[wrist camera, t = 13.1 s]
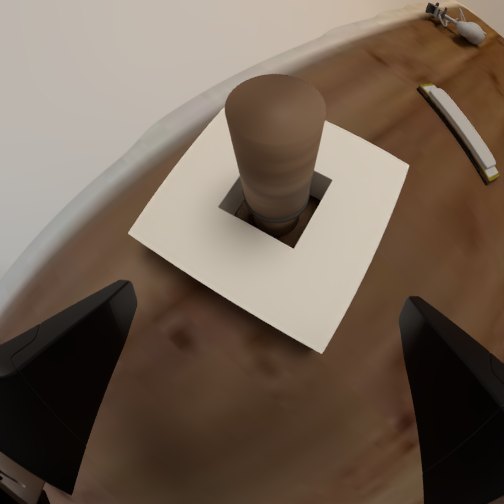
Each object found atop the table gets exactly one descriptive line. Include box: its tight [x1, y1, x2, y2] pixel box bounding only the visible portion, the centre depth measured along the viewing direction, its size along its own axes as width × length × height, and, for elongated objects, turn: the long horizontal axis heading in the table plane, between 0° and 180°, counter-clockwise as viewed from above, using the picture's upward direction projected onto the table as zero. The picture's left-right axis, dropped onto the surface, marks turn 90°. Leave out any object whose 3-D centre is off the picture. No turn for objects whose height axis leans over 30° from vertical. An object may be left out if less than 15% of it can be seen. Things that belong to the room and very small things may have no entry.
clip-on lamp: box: [426, 3, 487, 44], centre depth 29 cm, size 12×6×18 cm
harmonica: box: [417, 84, 500, 185], centre depth 24 cm, size 15×3×2 cm, turn 23°
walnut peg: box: [225, 74, 326, 236], centre depth 17 cm, size 5×5×13 cm
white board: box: [128, 107, 409, 354], centre depth 22 cm, size 16×16×4 cm
